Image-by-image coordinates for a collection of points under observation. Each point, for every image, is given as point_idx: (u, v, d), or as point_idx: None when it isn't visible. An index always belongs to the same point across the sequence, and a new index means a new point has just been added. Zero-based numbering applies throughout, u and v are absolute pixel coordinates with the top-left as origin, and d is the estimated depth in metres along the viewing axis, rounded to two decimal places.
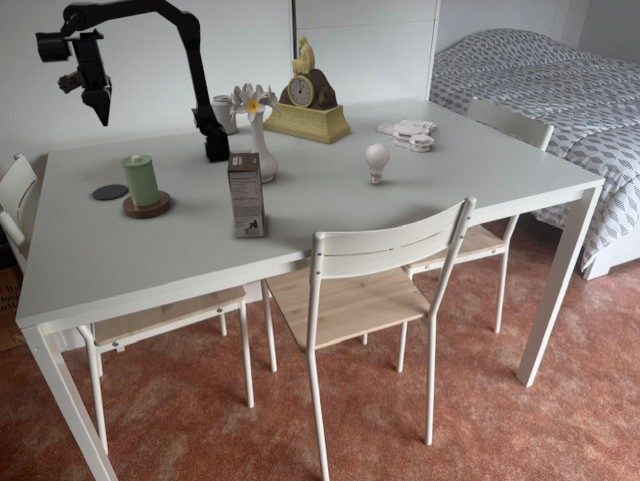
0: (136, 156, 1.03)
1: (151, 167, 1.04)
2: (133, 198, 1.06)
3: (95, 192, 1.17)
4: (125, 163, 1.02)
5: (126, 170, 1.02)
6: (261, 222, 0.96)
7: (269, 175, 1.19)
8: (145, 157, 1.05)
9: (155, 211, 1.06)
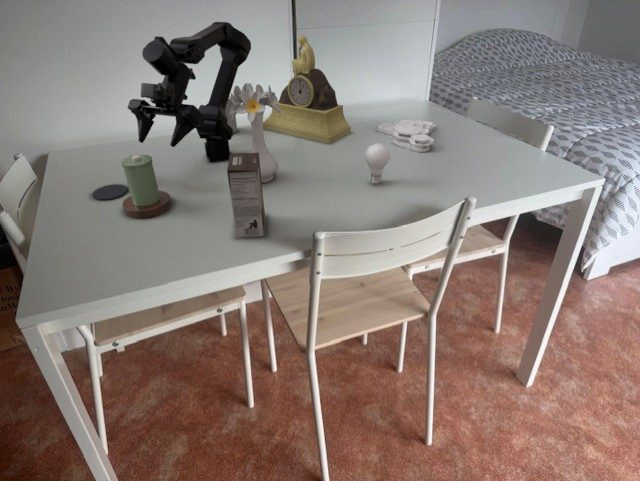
0: (136, 156, 1.03)
1: (151, 167, 1.04)
2: (133, 198, 1.06)
3: (95, 192, 1.17)
4: (125, 163, 1.02)
5: (126, 170, 1.02)
6: (261, 222, 0.96)
7: (269, 175, 1.19)
8: (145, 157, 1.05)
9: (155, 211, 1.06)
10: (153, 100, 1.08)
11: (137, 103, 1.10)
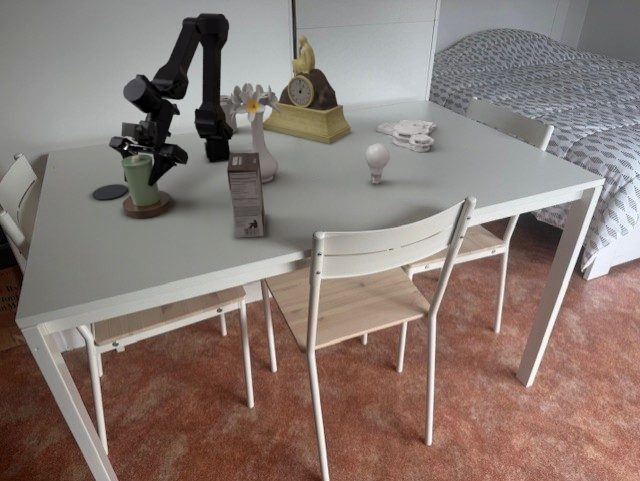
0: (136, 156, 1.03)
1: (151, 167, 1.04)
2: (133, 198, 1.06)
3: (95, 192, 1.17)
4: (125, 163, 1.02)
5: (126, 170, 1.02)
6: (261, 222, 0.96)
7: (269, 175, 1.19)
8: (145, 157, 1.05)
9: (155, 211, 1.06)
10: (135, 138, 1.05)
11: (118, 141, 1.06)
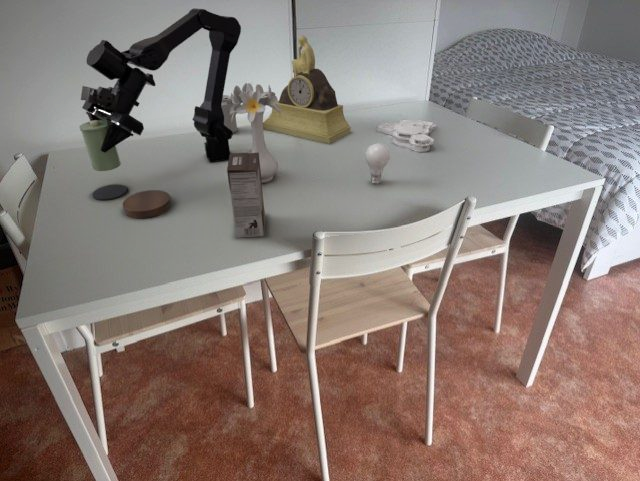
0: (94, 121, 1.05)
1: None
2: (91, 162, 1.09)
3: (95, 192, 1.17)
4: (82, 126, 1.04)
5: (82, 133, 1.05)
6: (261, 222, 0.96)
7: (269, 175, 1.19)
8: (104, 123, 1.06)
9: (155, 211, 1.06)
10: (99, 104, 1.07)
11: (89, 105, 1.09)
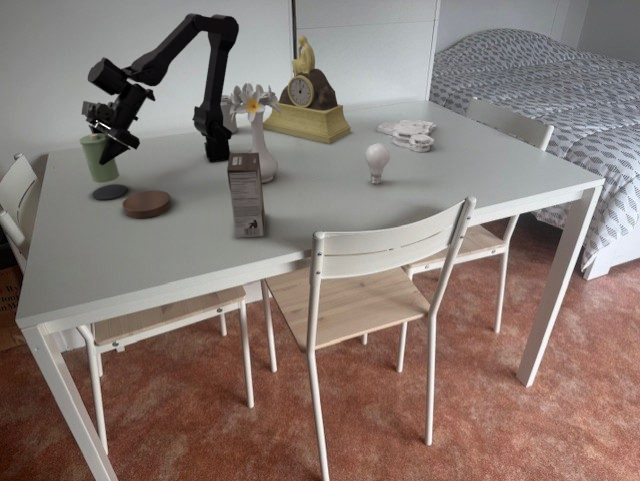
0: (94, 134, 1.09)
1: (104, 147, 1.09)
2: None
3: (95, 192, 1.17)
4: (82, 139, 1.09)
5: (82, 146, 1.09)
6: (261, 222, 0.96)
7: (269, 175, 1.19)
8: (103, 137, 1.10)
9: (155, 211, 1.06)
10: None
11: (91, 118, 1.13)
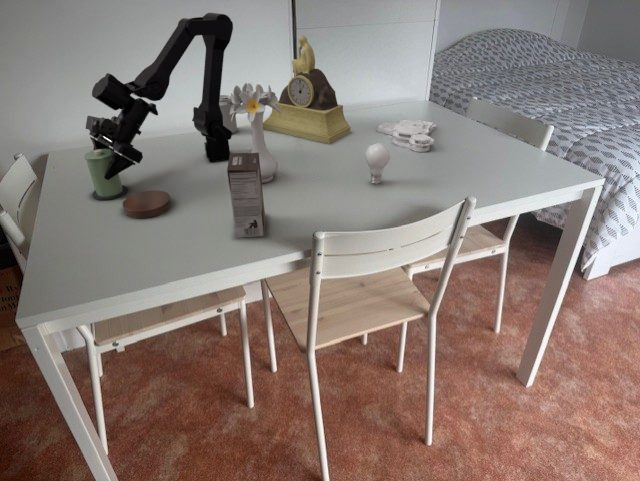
0: (98, 150, 1.11)
1: (108, 163, 1.11)
2: (95, 187, 1.15)
3: (95, 192, 1.17)
4: (87, 155, 1.11)
5: None
6: (261, 222, 0.96)
7: (269, 175, 1.19)
8: (107, 152, 1.12)
9: (155, 211, 1.06)
10: None
11: None
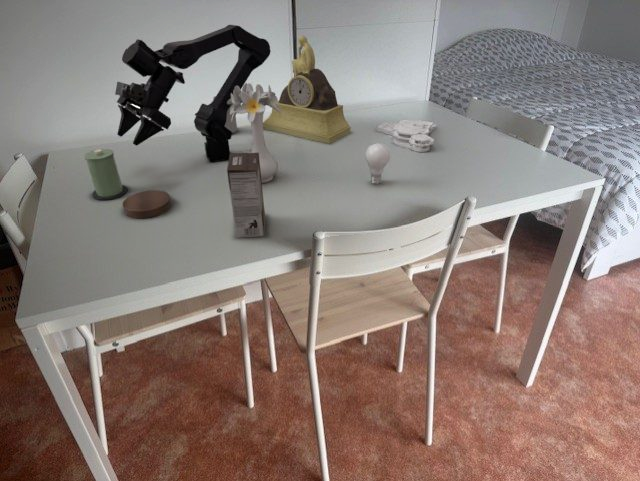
0: (98, 150, 1.11)
1: (108, 163, 1.11)
2: (95, 187, 1.15)
3: (95, 192, 1.17)
4: (87, 155, 1.11)
5: None
6: (261, 222, 0.96)
7: (269, 175, 1.19)
8: (107, 152, 1.12)
9: (155, 211, 1.06)
10: (132, 99, 1.14)
11: (123, 99, 1.17)
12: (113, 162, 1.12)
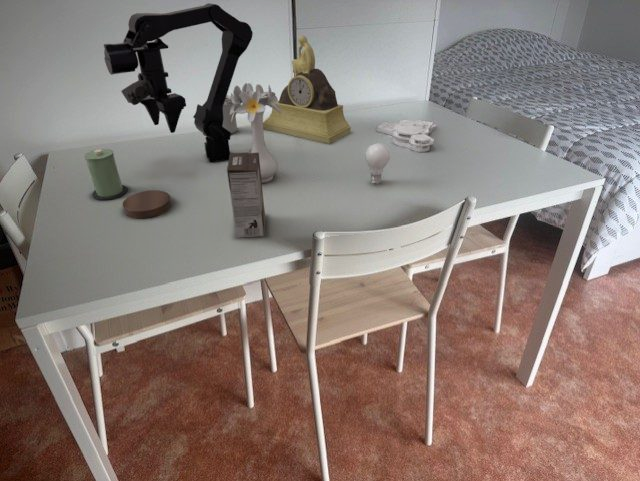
0: (98, 150, 1.11)
1: (108, 163, 1.11)
2: (95, 187, 1.15)
3: (95, 192, 1.17)
4: (87, 155, 1.11)
5: None
6: (261, 222, 0.96)
7: (269, 175, 1.19)
8: (107, 152, 1.12)
9: (155, 211, 1.06)
10: None
11: None
12: (113, 162, 1.12)
